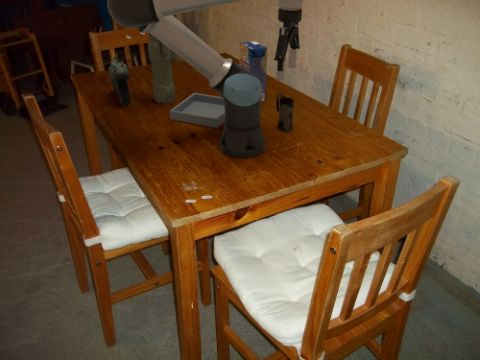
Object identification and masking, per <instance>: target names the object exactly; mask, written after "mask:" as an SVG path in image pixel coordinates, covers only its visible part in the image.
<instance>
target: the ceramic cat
mask: <svg viewBox="0 0 480 360" xmlns="http://www.w3.org/2000/svg"><path fill="white" fill-rule="evenodd" d="M115 56H116V57H113V59H112V61H110V62H109V63H110V65H109V67H108V73H109V79H110V81H111V82H110V83H111V86H112V89H113V90H114V91H115V92H114V94H115V93H118V94H117V95H118V96H119V101H120V105H121V106H122V105H128V104H131V105H132V101H131V100H132V99H131V93H130V87H129V83H128V80H129V79H130V75H129V70H128V67H127V64H126V63H125V62H124V60H121V61H119V57H118V52H115Z"/></svg>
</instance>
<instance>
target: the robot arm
mask: <svg viewBox="0 0 480 360" xmlns="http://www.w3.org/2000/svg"><path fill="white" fill-rule="evenodd" d="M242 1H243V0H107V2H106V3H107V9H108V13H109V15H110V16H111V18H112V19H113V20H114V22H116V24H118V25H120V26H121V27H124V28H135V29H136V30H138V31H139V32H140V33H141V34H148V33H151V34H152V35H153V36H154V37H156V38H157V39H158V40H159V41H161V42H162V43H163V44H164V45H166V46H167V47H168V48H169V49H171V52H173V53H175V54H176V56H179V57H180V58H181V59H182V60H184V61H185V62H186V64H188V65H190V66H191V67H192V68H193V69H194V70H196V71H198V73H200V74H201V75H202V76H203V77H204V78H206V79H207V80H208V83H209V85H208V86H209V87H210V88H212V89H213V90H214V91H215V92H217V93H218V94H219V95H220V96H221V97H223V100H224V107H225V122H224V128H223V131H222V133H221V134H222V135H221V136H220V140H219V149H220V151H221V152H222V153H223V154H225V155H226V156H230V157H231V158H232V157H233V158H237V157H239V158H238V159H242V158H243V159H244V158H245V157H248V158H252V157H256V156H259V155H260V154H262V153H264V151H265V149H266V140H265V137H264V134H263V131H262V127H261V118H262V117H261V114H262V113H261V112H262V110H261V109H262V101H261V96H262V88H261V83H260V81H259V80H258V79H257V78H256V77H252V75H251V74H250V72H249V71H248V70H247V69H246V68H245V67H243V66H241V65H240V64H239V63H237V62H236V61H235V60H234V59H233V58H230V57H229V58H225V57H223V56H222V55H220V54H219V53H218V52H217V51H216V50H215V49H213V48H212V47H211V46H210V45H208V44H207V43H206V42H205V41H204V40H202V39H201V37H199V36H198V35H196V34H195V33H194V31H192V30H191V29H189V28H188V27H187V26H186V25H185V24H184V23H182V22H181V21H180V20H179V19H178V18H177V17H175V16H174V15H178V14H183V13H188V12H194V11H199V10H203V9H207V8H211V7H216V6H217V7H218V6H222V5H228V4H232V3H236V2H242ZM303 1H304V0H278V3H277V4H278V5H277V6H278V7H279V8H278V13H277V21H278V22H281V23H283V25H282V27H279V28H278V29H279V31H278V40H277V45H276V50H275V56H274V59H273V61H276V76H275V80H276V81H285V80H286V65H287V64H286V62H287V61H286V58H287V57H286V56H287V52H288V62H287V63H288V65H287V68H288V69H297V58H298V50H300V49H301V45H300V36H299V35H300V31H299V30H300V29H299V23H300V22H301V21H302V17H303V9H302V7H303V4H304V2H303ZM258 154H259V155H258ZM245 159H246V158H245Z"/></svg>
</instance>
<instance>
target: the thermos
mask: <svg viewBox="0 0 480 360" xmlns="http://www.w3.org/2000/svg"><path fill="white" fill-rule="evenodd" d="M147 34H148V45H147V50H148V51H147V52H148V58H149V60H150V65H151V72H152V73H151V74H152V84H151V85H152V94H153V101H154V102H155V101H156V102H158V103H157V104H159V103H164V104H163V105H165V104H166V105H168V104H171V103H173V102H175V101H176V96H175V95H176V87H175V83H174V81H173V70H172V69H173V68H172V55H173V54H172V50H171V49H169V48H168V47H167V46H166V45H164V44H163V43H162V42H161V41H159V40H158V39H157V38H156V37H154V36H153V35H152V34H151V33H147ZM156 102H155V103H156ZM167 103H168V104H167Z"/></svg>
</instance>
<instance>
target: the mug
mask: <svg viewBox="0 0 480 360" xmlns="http://www.w3.org/2000/svg"><path fill="white" fill-rule="evenodd" d="M275 98H276V100H275V101H276V103H275V104H276V105H275V106H276V111H277V113H278V121H277V127H276V129H277V130H278V131H280V132H286V133H287V132H290V131H292V130H293V125H294V115H295V114H294V111H295V107H294V106H295V104H294V103H295V102H294V98H292V97H286V96H285V95H283V94H282V93H278V94H276V96H275Z"/></svg>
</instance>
